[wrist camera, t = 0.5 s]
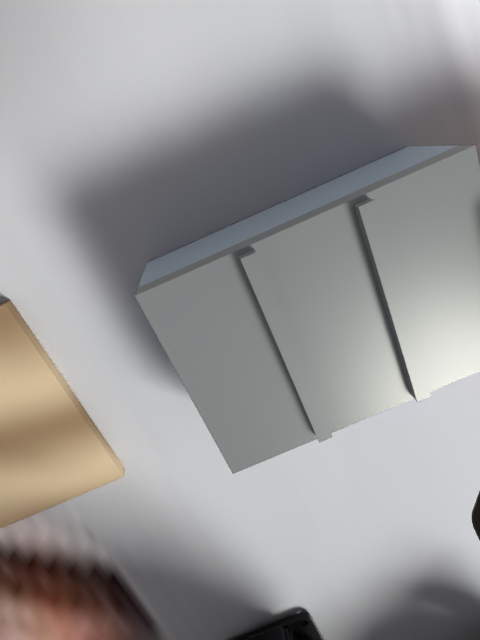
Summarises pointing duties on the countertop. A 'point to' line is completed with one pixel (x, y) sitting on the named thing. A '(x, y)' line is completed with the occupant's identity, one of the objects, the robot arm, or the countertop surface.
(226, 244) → the tub
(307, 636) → the robot arm
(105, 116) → the countertop surface
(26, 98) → the countertop surface
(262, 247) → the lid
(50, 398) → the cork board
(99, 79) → the countertop surface
